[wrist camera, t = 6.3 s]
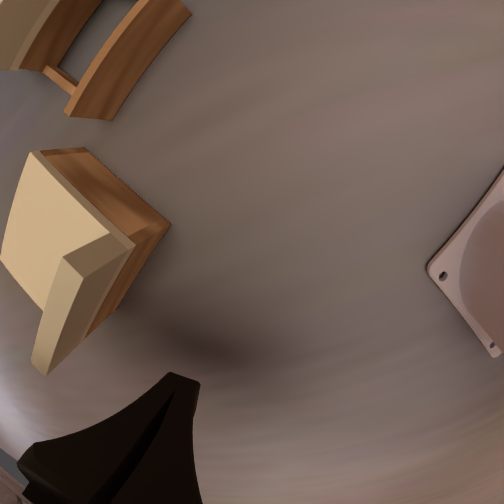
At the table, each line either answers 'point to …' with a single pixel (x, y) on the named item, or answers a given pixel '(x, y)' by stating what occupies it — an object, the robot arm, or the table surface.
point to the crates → (107, 115)
